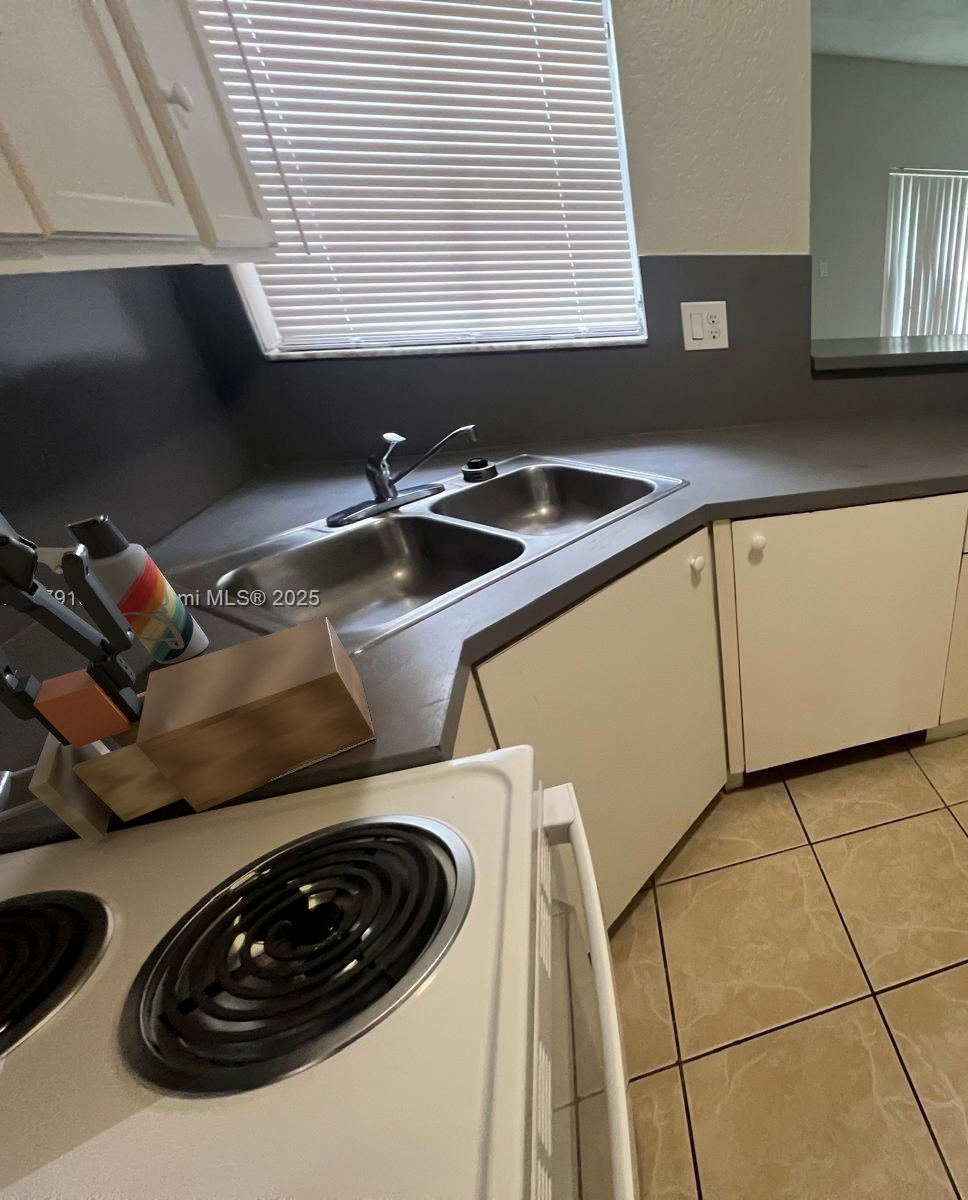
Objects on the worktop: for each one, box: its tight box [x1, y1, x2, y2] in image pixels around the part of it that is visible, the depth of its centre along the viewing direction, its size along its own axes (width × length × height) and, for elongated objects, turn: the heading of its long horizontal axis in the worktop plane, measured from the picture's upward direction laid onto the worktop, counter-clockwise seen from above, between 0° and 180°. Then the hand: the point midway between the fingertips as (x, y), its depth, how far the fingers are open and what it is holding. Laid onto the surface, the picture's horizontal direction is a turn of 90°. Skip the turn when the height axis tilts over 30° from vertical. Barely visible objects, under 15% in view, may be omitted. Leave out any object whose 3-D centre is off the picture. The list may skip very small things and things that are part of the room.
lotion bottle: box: [64, 513, 210, 665], centre depth 79 cm, size 6×6×20 cm
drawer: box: [0, 691, 184, 845], centre depth 62 cm, size 20×12×8 cm, turn 127°
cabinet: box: [136, 616, 376, 814], centre depth 67 cm, size 16×13×10 cm
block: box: [33, 667, 133, 748], centre depth 58 cm, size 4×4×6 cm
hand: (105, 724), depth 60 cm, fingers closed on block, 4 cm apart
